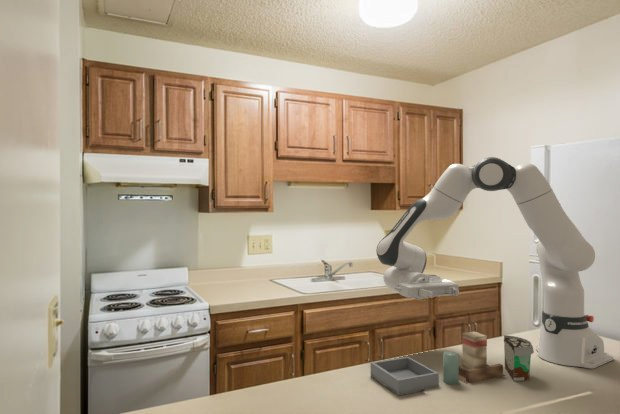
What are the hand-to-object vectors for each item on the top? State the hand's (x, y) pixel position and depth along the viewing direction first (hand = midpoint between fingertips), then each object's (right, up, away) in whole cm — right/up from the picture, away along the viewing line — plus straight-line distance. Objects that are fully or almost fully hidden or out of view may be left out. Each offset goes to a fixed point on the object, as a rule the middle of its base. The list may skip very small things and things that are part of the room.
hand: (445, 294), depth 131 cm
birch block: (+5, -20, -11) cm, 23 cm away
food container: (+17, -21, -12) cm, 30 cm away
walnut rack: (+5, -21, -11) cm, 24 cm away
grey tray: (-16, -21, -15) cm, 30 cm away
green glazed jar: (-4, -21, -17) cm, 27 cm away
